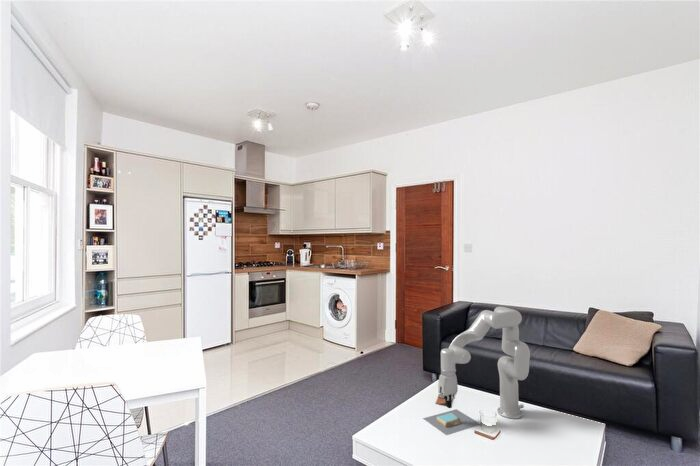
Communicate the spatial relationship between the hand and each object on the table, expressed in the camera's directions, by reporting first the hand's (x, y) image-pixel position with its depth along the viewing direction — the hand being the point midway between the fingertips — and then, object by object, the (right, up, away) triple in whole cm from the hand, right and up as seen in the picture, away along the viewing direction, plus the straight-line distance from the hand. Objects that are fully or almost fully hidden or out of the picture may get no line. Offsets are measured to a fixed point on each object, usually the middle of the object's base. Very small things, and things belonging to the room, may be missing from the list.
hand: (448, 406), depth 189 cm
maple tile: (+4, -7, +2) cm, 8 cm away
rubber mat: (+2, -9, +1) cm, 9 cm away
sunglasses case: (+5, -10, +27) cm, 29 cm away
